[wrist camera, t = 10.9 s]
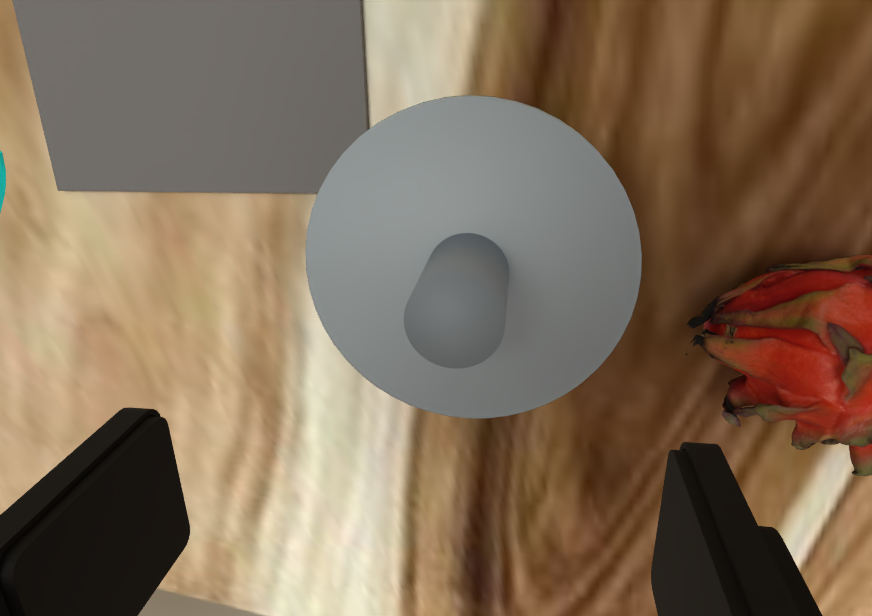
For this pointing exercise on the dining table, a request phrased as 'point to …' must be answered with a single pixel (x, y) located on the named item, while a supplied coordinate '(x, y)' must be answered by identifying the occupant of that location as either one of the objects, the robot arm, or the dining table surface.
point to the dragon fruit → (800, 351)
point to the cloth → (2, 179)
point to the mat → (196, 91)
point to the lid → (473, 257)
